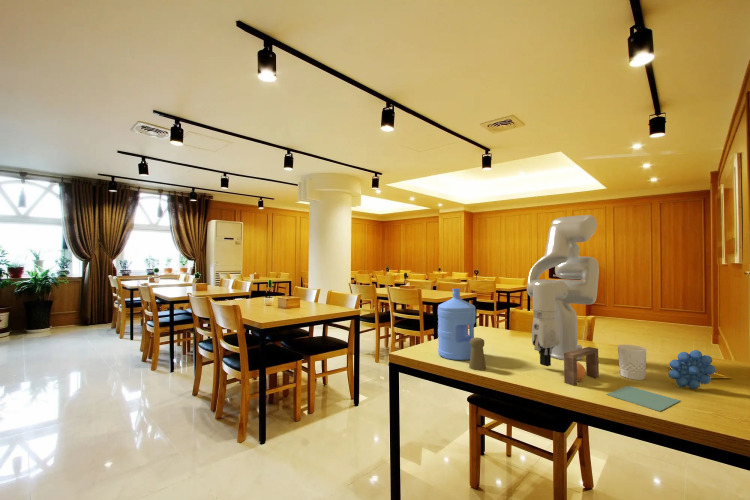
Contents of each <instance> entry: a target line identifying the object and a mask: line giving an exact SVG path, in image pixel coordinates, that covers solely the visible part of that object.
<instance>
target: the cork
mask: <svg viewBox="0 0 750 500" xmlns="http://www.w3.org/2000/svg"><path fill="white" fill-rule="evenodd" d="M470 345H471V347H472V348H471V356H470V359H469V364H468V365H469V367H468V368H469V369H471V370H473V371H485V370H486V369H487V367H486V366H487V365H486V360H485V353H484V352H485V351H484V346H485V340H484V339H483V338H482V337H481V338H480V337H474V338H472V339H471V340H470Z"/></svg>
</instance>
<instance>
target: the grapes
mask: <svg viewBox="0 0 750 500" xmlns="http://www.w3.org/2000/svg"><path fill="white" fill-rule="evenodd" d="M712 363H713V358H712V356H710V355H708V354H706V355H705V354H704V355H703V354H702V352H701V351H700V350H697V349H696V350H695V349H693V350H691V351H690V352H686V351H681V352H679V353H678V354H677V359H672V360H671V361H670V362H669V367H671V368H672V369H673V370H672V369H670V370H669V372H668V376H669V378H670V379H672V380H675V384H676V386H677V387H680V388H684V387H685V388H686V386H687V387H688V388H689V389H691V388H692V389H693V390H696V389H699V388H700V385H707V384H709V383H710V382H711V380H712V379H711V378H712V377H711V375H715V374H714V373H715V372H717V368H716V366H715V365H714V364H712Z"/></svg>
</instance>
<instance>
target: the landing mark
mask: <svg viewBox="0 0 750 500" xmlns="http://www.w3.org/2000/svg"><path fill="white" fill-rule="evenodd" d="M606 396H609V397H612V398H616V399H618V400H622V401H623V402H624V401H625V402H627V403H631V404H633V405H634V404H635V405H637V406H641V407H644V408H648V409H651V410H653V411H657V412H660V411H661V412H663V411H665V410H666V409H668V408H670V407H672V406H674V405H676V404H677V403H680V402H681V400H680V399H677V398H673V397H670V396H666V395H662V394H658V393H655V392H652V391H647V390H644V389H640V388H637V387H634V386H631V385H626V386H622V387H621V388H618V389H616V390H613V391H611V392H609V393H606Z"/></svg>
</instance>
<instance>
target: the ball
mask: <svg viewBox="0 0 750 500" xmlns="http://www.w3.org/2000/svg"><path fill="white" fill-rule="evenodd" d="M585 376H586V369H585V367H584V365H582V364H581V363H580V362H578V361H577V382H578V381H582V380H583V379H584V378H585Z"/></svg>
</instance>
